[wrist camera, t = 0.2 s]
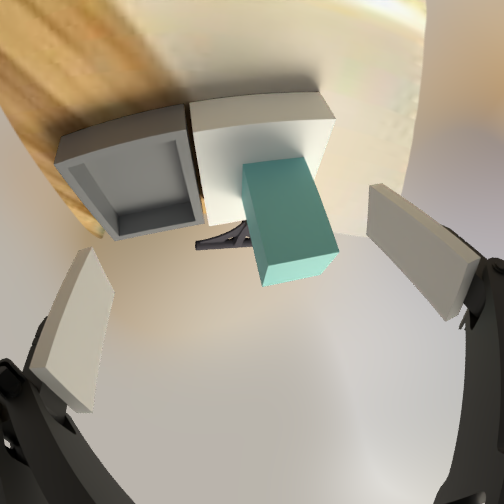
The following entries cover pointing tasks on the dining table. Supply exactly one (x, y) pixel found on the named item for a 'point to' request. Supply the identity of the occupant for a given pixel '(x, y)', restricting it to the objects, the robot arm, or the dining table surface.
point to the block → (286, 221)
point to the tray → (134, 172)
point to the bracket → (224, 242)
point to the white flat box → (254, 141)
